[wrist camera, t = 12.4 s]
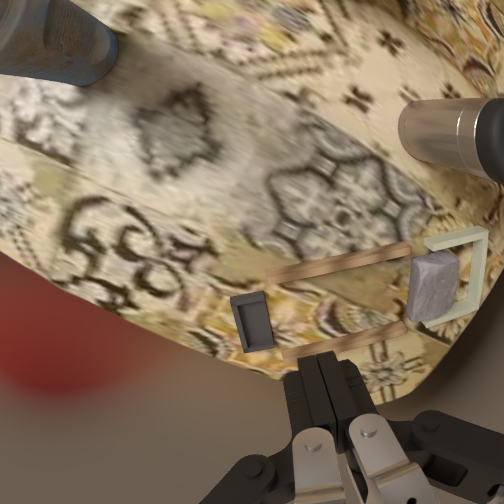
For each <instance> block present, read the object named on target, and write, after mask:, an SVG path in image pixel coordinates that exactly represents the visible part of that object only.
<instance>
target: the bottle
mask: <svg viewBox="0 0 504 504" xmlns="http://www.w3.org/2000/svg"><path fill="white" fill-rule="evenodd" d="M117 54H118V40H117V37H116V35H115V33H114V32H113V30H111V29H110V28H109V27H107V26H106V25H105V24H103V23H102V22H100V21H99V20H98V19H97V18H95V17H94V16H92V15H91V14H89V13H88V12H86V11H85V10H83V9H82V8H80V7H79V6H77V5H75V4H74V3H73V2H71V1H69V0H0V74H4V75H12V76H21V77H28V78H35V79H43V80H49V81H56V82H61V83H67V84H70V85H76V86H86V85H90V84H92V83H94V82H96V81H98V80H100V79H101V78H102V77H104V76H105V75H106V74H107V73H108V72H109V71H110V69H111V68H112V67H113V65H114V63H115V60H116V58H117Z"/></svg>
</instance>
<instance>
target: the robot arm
mask: <svg viewBox="0 0 504 504" xmlns="http://www.w3.org/2000/svg"><path fill="white" fill-rule="evenodd" d="M398 132H399V137H400V140H401V143H402V145H403V147H404V148H405V150H406V151H407V152H408V153H409V154H410V155H411V156H412V157H414V158H416V159H418V160H421V161H425V162H429V163H433V164H437V165H440V166H444V167H448V168H451V169H455V170H458V171H462V172H465V173H469V174H472V175H475V176H478V177H482V178H485V179H488V180H491V181H494V182H497V183H500V184H502V185H503V186H504V98H461V99H436V100H419V101H414V102H412V103H410V104H408V105H407V106H406V107H405V108H404V110H403V111H402V113H401V115H400V118H399V124H398ZM297 363H298V370H299V371H295V372H290V373H287V374H286V377H285V379H284V382H283V385H284V390H285V396H286V401H287V407H288V412H289V418H290V424H291V429H292V438H291V441H290V443H289V444H288V445H287V446H286V448H284V449H283V450H282V451H280V452H278V453H276V454H274V455H272V456H269V457H266V456H263V455H258V454H257V455H256V454H254V455H248V456H245V457H243V458H242V459H240V460H239V461H238V462H237V463H236V464H235V465H234V466H233V467H232V468H231V470H230V471H229V472H228V473H227V474H226V475H225V476H224V477H223V479H222V480H221V481H220V482H219V483H218V484H217V485H216V486H215V487H214V488H213V489H212V490H211V492H210V493H209V494H208V495H207V496H206V497H205V498H204V499H203V500H202V501H201V502H200V503H199V504H286V503H288V502H290V501H292V500H294V499H295V504H346V499H345V494H344V489H343V488H342V485H341V479H340V473H339V467H338V462H337V456H336V453H337V452H338V454H341V453H345V455H346V458H347V469H348V472H349V475H350V477H351V479H352V482H353V485H354V487H355V489H356V492H357V495H358V497H359V500H360V502H361V504H440V502H439V500H438V498H437V496H436V494H435V493H434V491H433V489H432V487H431V485H432V486H434V487H437V488H439V489H442V490H444V491H446V492H449V493H451V494H454V495H456V496H459V497H462V498H464V499H467V500H470V501H472V502H475V503H478V504H504V434H502V433H498V432H495V431H492V430H489V429H486V428H483V427H481V426H478V425H475V424H472V423H469V422H466V421H464V420H461V419H458V418H455V417H453V416H450V415H447V414H445V413H442V412H439V411H436V410H427V411H424V412H421V413H420V414H419V415H417V416H416V417H415V419H414V420H413V421H390V420H387V419H385V418H383V417H382V416H381V415H380V414H379V413H378V412H377V410H376V408H375V405H374V403H373V401H372V399H371V396H370V394H369V392H368V390H367V387H366V385H365V384H364V381H363V379H362V377H361V374H360V372H359V370H358V368H357V366H356V365H355V364H354V363H352V362H351V361H350V360H349V359H346V360H342V361H338V360H337V358H336V355H335V353H334V351H333V350H331V351H327V352H323V353H318V354H316V355H310V356H305V357H301V358H297Z"/></svg>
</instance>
